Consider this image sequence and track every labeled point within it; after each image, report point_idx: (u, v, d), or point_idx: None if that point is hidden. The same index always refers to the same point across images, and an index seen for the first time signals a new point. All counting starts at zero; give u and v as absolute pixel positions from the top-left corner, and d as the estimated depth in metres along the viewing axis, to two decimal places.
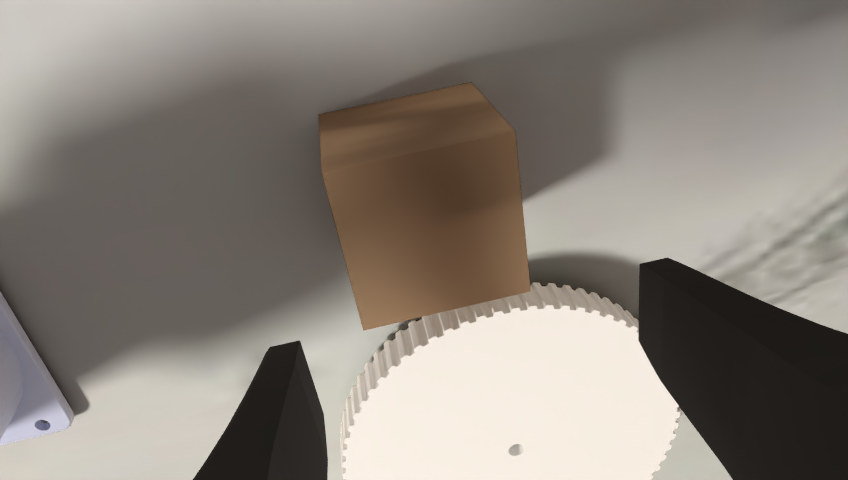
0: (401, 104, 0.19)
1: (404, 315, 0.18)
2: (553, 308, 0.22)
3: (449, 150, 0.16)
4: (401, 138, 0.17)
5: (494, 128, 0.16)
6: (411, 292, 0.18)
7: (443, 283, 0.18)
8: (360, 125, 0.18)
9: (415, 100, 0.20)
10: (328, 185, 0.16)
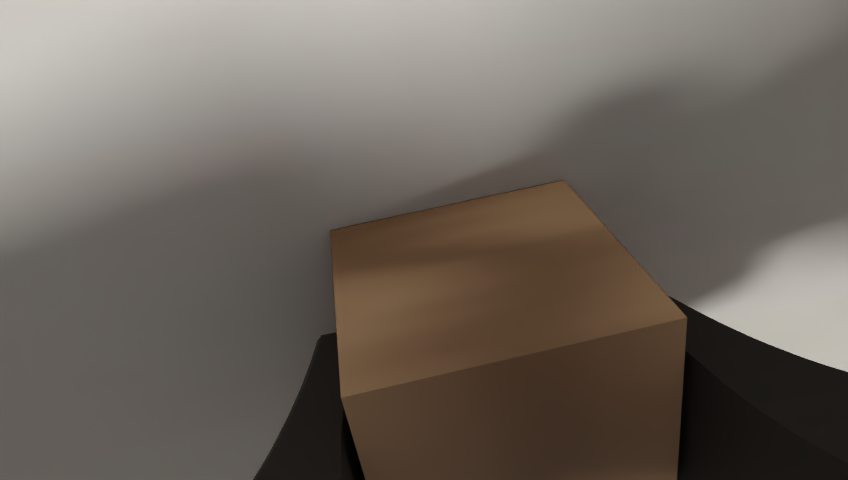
0: (462, 223, 0.12)
1: None
2: None
3: (569, 353, 0.09)
4: (475, 311, 0.10)
5: (643, 304, 0.09)
6: None
7: None
8: (400, 269, 0.11)
9: (483, 215, 0.13)
10: (352, 416, 0.09)
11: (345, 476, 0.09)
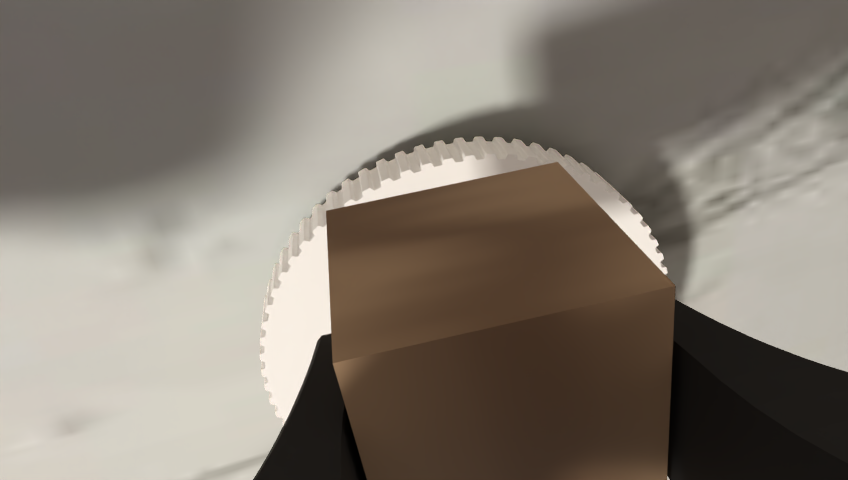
0: (456, 202, 0.13)
1: None
2: (517, 158, 0.18)
3: (558, 320, 0.09)
4: (467, 282, 0.10)
5: (632, 274, 0.09)
6: None
7: None
8: (394, 244, 0.11)
9: (476, 195, 0.13)
10: (344, 382, 0.09)
11: (345, 476, 0.09)
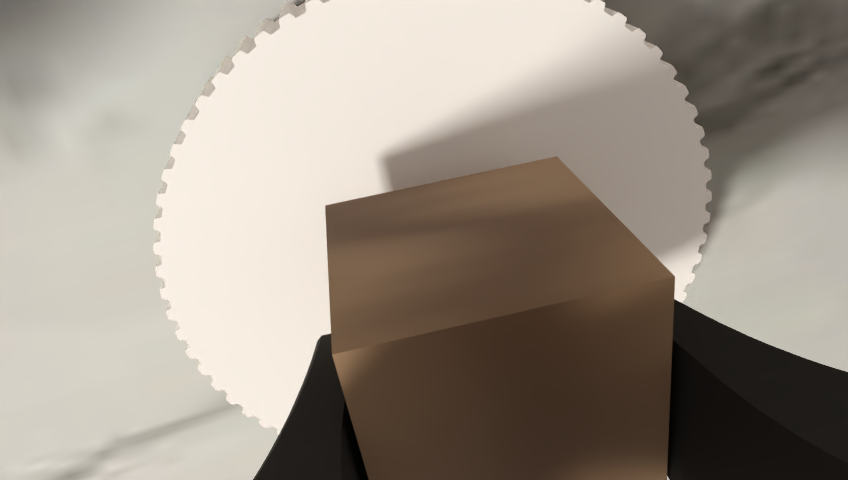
0: (454, 196, 0.13)
1: None
2: None
3: (558, 311, 0.09)
4: (467, 274, 0.10)
5: (632, 266, 0.09)
6: None
7: None
8: (393, 238, 0.11)
9: (476, 189, 0.13)
10: (343, 373, 0.09)
11: (345, 476, 0.09)
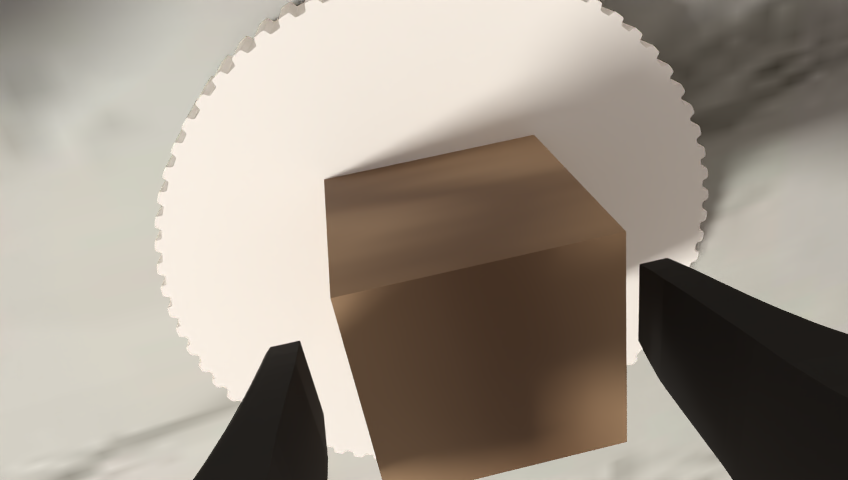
0: (440, 169, 0.14)
1: (447, 479, 0.13)
2: None
3: (525, 262, 0.10)
4: (447, 233, 0.11)
5: (590, 223, 0.11)
6: (458, 450, 0.12)
7: (505, 436, 0.12)
8: (384, 205, 0.13)
9: (459, 162, 0.14)
10: (340, 315, 0.10)
11: None
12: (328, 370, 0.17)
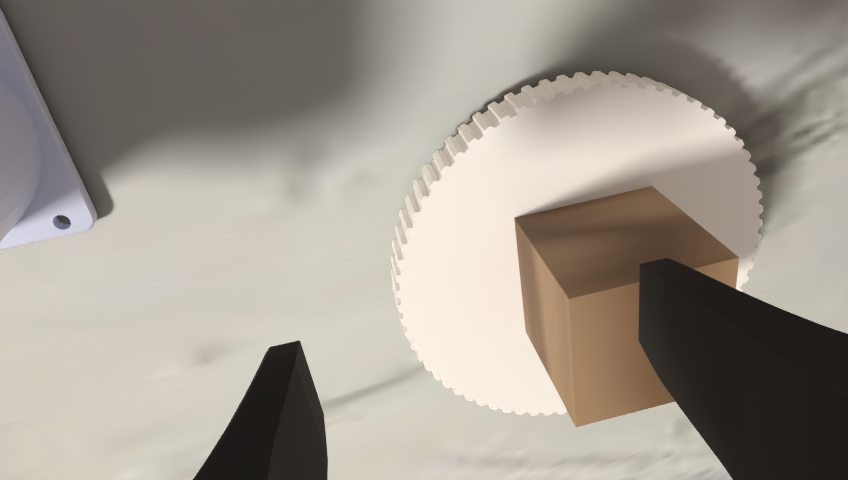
0: (597, 212, 0.21)
1: (613, 413, 0.20)
2: (637, 87, 0.20)
3: None
4: (624, 258, 0.19)
5: (715, 252, 0.18)
6: (623, 393, 0.19)
7: (652, 384, 0.20)
8: (570, 238, 0.20)
9: (608, 207, 0.21)
10: (572, 309, 0.18)
11: None
12: (495, 348, 0.24)
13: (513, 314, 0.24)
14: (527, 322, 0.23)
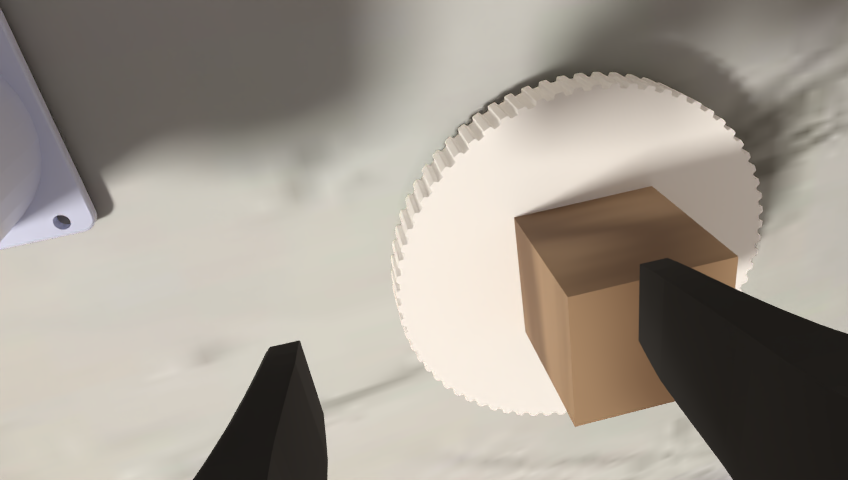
0: (596, 212, 0.21)
1: (612, 412, 0.20)
2: (637, 88, 0.20)
3: None
4: (623, 257, 0.19)
5: (714, 251, 0.18)
6: (623, 393, 0.19)
7: (651, 384, 0.20)
8: (570, 237, 0.20)
9: (608, 207, 0.21)
10: (571, 307, 0.18)
11: None
12: (495, 349, 0.24)
13: (513, 315, 0.24)
14: (527, 322, 0.23)
